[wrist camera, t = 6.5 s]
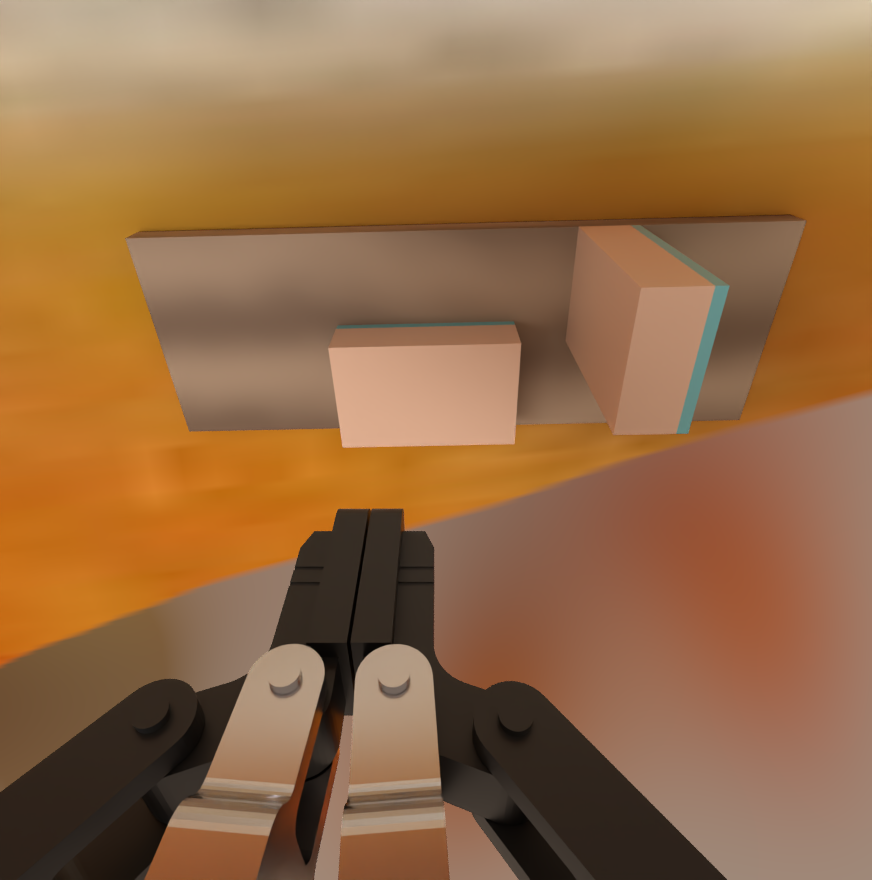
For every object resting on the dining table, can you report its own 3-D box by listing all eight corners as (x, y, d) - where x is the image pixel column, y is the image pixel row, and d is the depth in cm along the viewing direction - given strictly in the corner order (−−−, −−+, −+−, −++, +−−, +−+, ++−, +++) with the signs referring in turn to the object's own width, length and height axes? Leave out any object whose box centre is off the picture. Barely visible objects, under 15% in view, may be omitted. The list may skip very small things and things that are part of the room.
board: (138, 231, 23) (125, 238, 22) (790, 214, 23) (806, 220, 22) (198, 419, 28) (189, 431, 27) (728, 408, 28) (739, 420, 27)
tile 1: (328, 347, 22) (521, 343, 22) (337, 325, 24) (513, 321, 24) (342, 447, 25) (514, 444, 25) (349, 419, 27) (508, 416, 27)
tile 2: (578, 226, 22) (640, 287, 15) (639, 225, 22) (729, 285, 15) (565, 340, 25) (613, 435, 18) (619, 339, 25) (688, 433, 18)
